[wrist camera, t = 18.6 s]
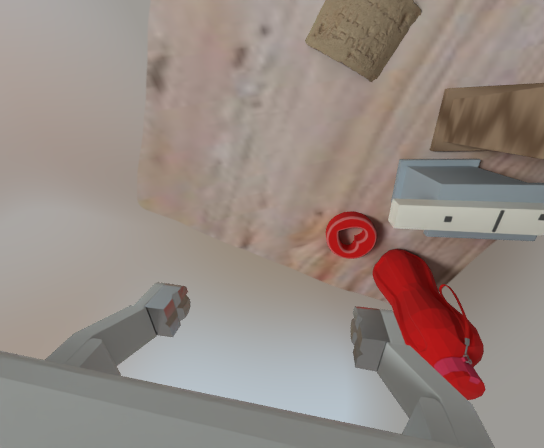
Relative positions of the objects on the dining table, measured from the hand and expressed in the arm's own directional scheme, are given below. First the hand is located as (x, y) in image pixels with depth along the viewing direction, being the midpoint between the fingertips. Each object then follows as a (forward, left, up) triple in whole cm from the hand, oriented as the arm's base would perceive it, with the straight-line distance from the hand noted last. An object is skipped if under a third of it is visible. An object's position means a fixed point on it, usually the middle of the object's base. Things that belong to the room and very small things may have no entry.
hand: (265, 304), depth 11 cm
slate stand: (+3, +23, -36) cm, 43 cm away
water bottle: (+21, +21, -36) cm, 47 cm away
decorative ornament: (+14, +10, -37) cm, 41 cm away
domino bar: (+3, +23, -21) cm, 31 cm away
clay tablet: (-20, +8, -37) cm, 43 cm away
